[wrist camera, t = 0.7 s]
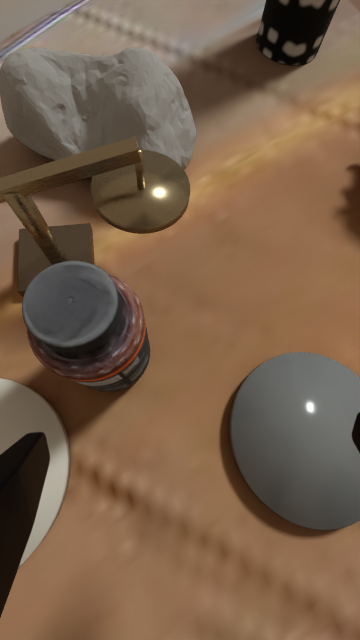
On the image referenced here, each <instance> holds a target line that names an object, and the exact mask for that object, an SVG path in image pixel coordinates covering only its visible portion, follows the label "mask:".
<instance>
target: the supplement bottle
mask: <svg viewBox="0 0 360 640" xmlns="http://www.w3.org/2000/svg"><path fill="white" fill-rule="evenodd" d="M22 313H23V318H24V321H25V324H26V326H27V334H28V339H29V343H30V346H31V348H32V350H33V352H34V354H35V356H36V357H37V359H39V361H40V362H41V363H42V364H43V365H44V366H46V367H47V368H48V369H49V370H51V371H52V372H54V373H56V374H57V375H60V376H62V377H65V378H67V379H69V380H72V381H75V382H77V383H80V384H83V385H85V386H88V387H90V388H93V389H96V390H99V391H108V392H113V391H118V390H122V389H125V388H128V387H129V386H131V385H132V384H134V383H135V382H136V381H137V380H138V379H139V378H140V377H141V376H142V375H143V373H144V371H145V370H146V368H147V365H148V362H149V357H150V346H149V340H148V335H147V328H146V323H145V319H144V313H143V309H142V306H141V303H140V301H139V299H138V297H137V296H136V294H135V293H134V291H133V290H132V289H131V288H130V287H129V286H128V285H127V284H126V283H125V282H124V281H122V280H120V279H119V278H117V277H115V276H113V275H111V274H107V273H106V272H105V271H104V270H102V269H101V268H99V267H97V266H95V265H93V264H90V263H87V262H81V261H66V262H61V263H57V264H54V265H52V266H50V267H48V268H46V269H45V270H43V271H41V272H40V273H39V274H38V275H37V276H36V277H35V278H34V279H33V280H32V281H31V283H30V284H29V285H28V288H27V289H26V291H25V294H24V298H23V301H22Z"/></svg>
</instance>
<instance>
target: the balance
mask: <svg viewBox="0 0 360 640" xmlns="http://www.w3.org/2000/svg"><path fill="white" fill-rule="evenodd" d="M92 176H93V178H92V181H91V195H92V198H93V201H94V205H95V207H96V209H97V211H98V213H99V214H100V215H101V217H102V218H103V219H104V220H105V221H106V222H108V223H109V224H110V225H112V226H114V227H116V228H118V229H120V230H123V231H126V232H131V233H139V234H145V233H154V232H158V231H161V230H164V229H166V228H168V227H170V226H171V225H173V224H174V223H176V222H177V221H178V220H179V219H180V218H181V217H182V215H183V214H184V212H185V211H186V209H187V206H188V202H189V196H190V183H189V180H188V177H187V175H186V173H185V171H184V170H183V169H182V167H181V166H180V165H179V164H178V163H177V162H175V161H174V160H173V159H171V158H170V157H168V156H166V155H164V154H161V153H158V152H155V151H150V150H142V148H140V147H139V145H138V142H137V139H136V137H135V136H134V137H131V138H128V139H125V140H121V141H118V142H115V143H111V144H108V145H105V146H102V147H98V148H95V149H92V150H89V151H85V152H82V153H79V154H75V155H72V156H69V157H66V158H62V159H59V160H56V161H53V162H49V163H46V164H43V165H40V166H36V167H33V168H30V169H26V170H23V171H20V172H17V173H13V174H10V175H7V176H4V177H0V203H3V202H6V201H7V203H8V204H9V205H10V207H11V208H12V210H13V211H14V212H15V214H16V215H17V217H18V218H19V220H20V221H21V222H22V224H23V225H24V227H25V228H26V229H19V254H18V284H17V292H19V293H20V294H21V295H22V296H24V294H25V291H26V289H27V288H28V285H29V284H30V283H31V281H32V280H33V279H34V278H35V277H36V276H37V275H38V274H39V273H40V272H41V271H43V270H45V269H46V268H48V267H50V266H52V265H54V264H57V263H61V262H66V261H81V262H87V263H90V264H93V265H94V250H93V234H92V228H91V226H90V223H89V224H76V225H64V226H51V227H48V225H47V223H46V222H45V220H44V218H43V217H42V215H41V213H40V211H39V210H38V208H37V206H36V205H35V203H34V201H33V199H32V198H31V196H30V194H33V193H37V192H40V191H44V190H47V189H50V188H54V187H57V186H61V185H64V184H68V183H71V182H74V181H78V180H81V179H85V178H88V177H92Z"/></svg>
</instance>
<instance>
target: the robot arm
mask: <svg viewBox="0 0 360 640" xmlns="http://www.w3.org/2000/svg"><path fill="white" fill-rule="evenodd" d="M352 440H353V442H354V444H355V446H356V448H357V449H358V451H359V453H360V412H359V413H358V414H357V416H356V419H355V423H354V426H353V430H352ZM49 463H50V453H49V448H48V444H47V439H46V435H45V433H43V432H31V433H27V434H26V435H24V436H23V437H22V438H20V439H19V440H18V441H17V442H15V443H14V444H13V445H12V446H10V447H9V448H8V449H7V450H5V451H4V452H3V453H2V454H0V617H1V614H2V612H3V609H4V606H5V603H6V601H7V598H8V595H9V592H10V589H11V587H12V584H13V581H14V578H15V576H16V573H17V570H18V567H19V565H20V562H21V559H22V556H23V554H24V551H25V548H26V545H27V542H28V540H29V537H30V534H31V531H32V528H33V525H34V522H35V518H36V514H37V510H38V506H39V503H40V499H41V495H42V491H43V487H44V483H45V479H46V475H47V471H48V467H49Z"/></svg>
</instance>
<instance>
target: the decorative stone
mask: <svg viewBox="0 0 360 640" xmlns="http://www.w3.org/2000/svg"><path fill="white" fill-rule="evenodd" d="M0 96H1V103H2V109H3V113H4V117H5V121H6V124H7V127H8V129H9V131H10V132H11V133H12V134H13V136H14V137H15V138H16V139H17V140H19V141H20V142H21V143H22V144H24V145H25V146H26V147H28V148H30V149H31V150H33V151H35V152H37V153H39V154H41V155H43V156H45V157H47V158H50V159H53V160H54V161H56V160H59V159H62V158H66V157H69V156H72V155H75V154H79V153H82V152H85V151H89V150H92V149H95V148H98V147H102V146H105V145H108V144H111V143H115V142H118V141H121V140H125V139H128V138H131V137H134V136H135V137H136V139H137V142H138V145H139V147H140V148H142V150H150V151H155V152H158V153H161V154H164V155H166V156H168V157H170V158H171V159H173V160H174V161H175V162H177V163H178V164H179V165H180V166H181V167H182V169H183V170H185V169H186V167H187V165H188V164H189V162H190V160H191V157H192V152H193V146H194V142H195V139H196V128H195V125H194V122H193V118H192V114H191V110H190V107H189V104H188V101H187V99H186V97H185V95H184V92H183V89H182V86H181V84H180V82H179V80H178V79H177V78H176V76H175V75H174V73H173V72H172V71H171V70H170V69H169V67H168V66H167V65H166V64H165V63H164V62H162V61H161V60H160V59H159V58H158V57H157V56H156V55H155V54H154V53H152V52H150V51H148V50H146V49H142V48H128V49H125V50H123V51H122V52H120V53H117V54H114V55H108V56H104V55H103V56H97V55H86V54H78V53H70V52H64V51H53V50H50V49H46V48H40V47H34V48H29V49H22V50H18V51H16V52H13V53H11V54H9V55H8V56H7V57H6V58H5V60H4V62H3V64H2V66H1V69H0ZM91 178H93V176H92V177H91Z"/></svg>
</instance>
